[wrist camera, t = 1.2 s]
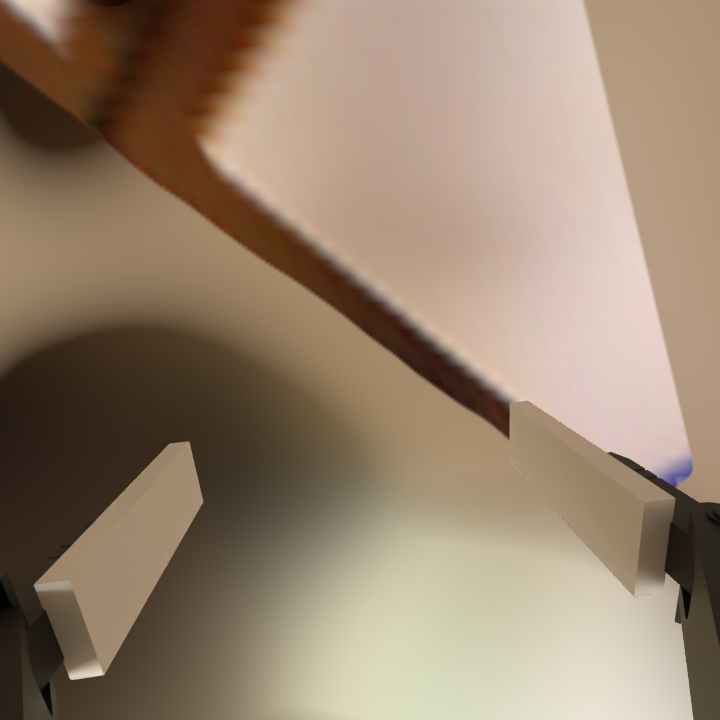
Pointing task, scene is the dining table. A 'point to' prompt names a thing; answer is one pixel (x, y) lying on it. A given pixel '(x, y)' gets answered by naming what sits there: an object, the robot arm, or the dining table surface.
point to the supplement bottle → (107, 1)
